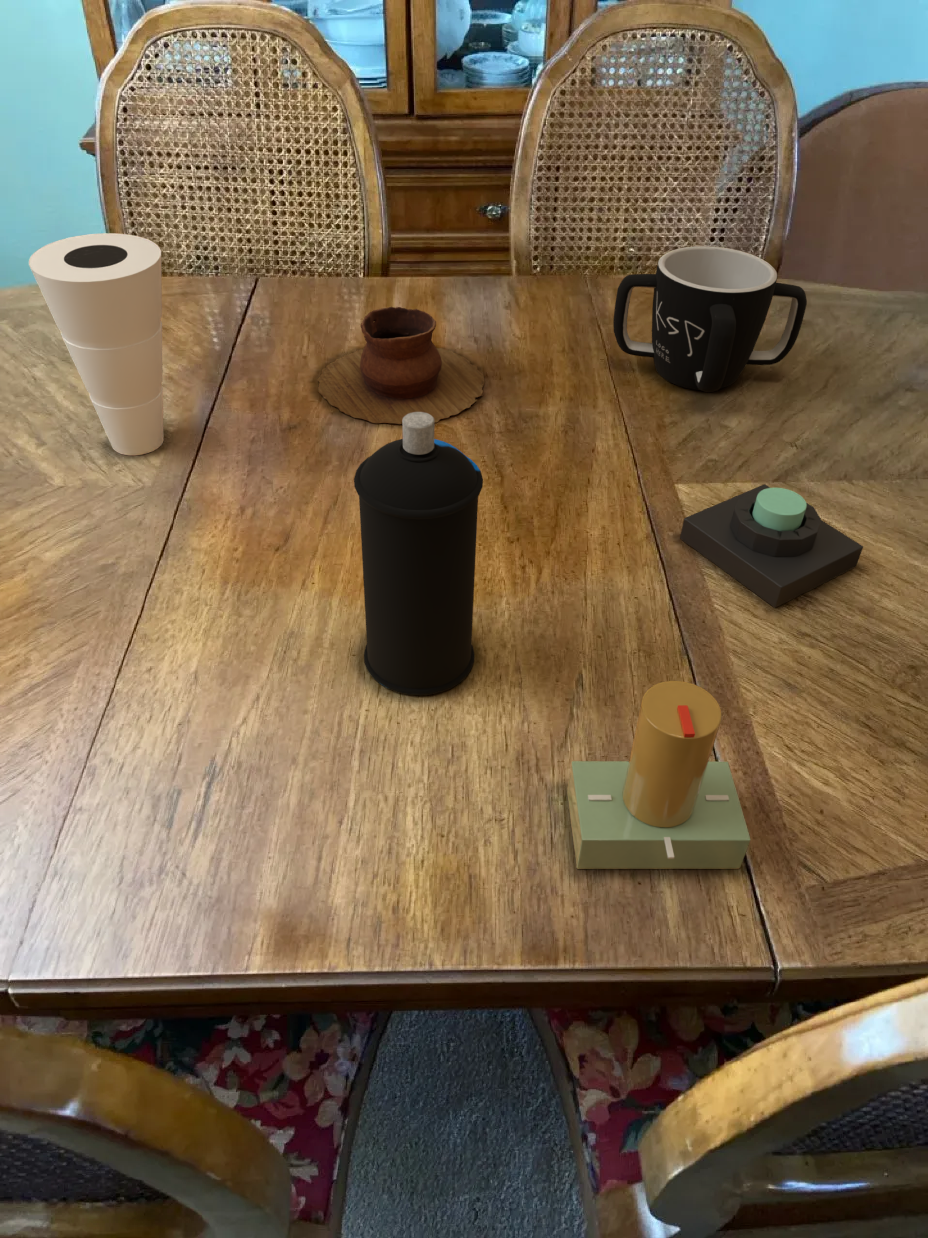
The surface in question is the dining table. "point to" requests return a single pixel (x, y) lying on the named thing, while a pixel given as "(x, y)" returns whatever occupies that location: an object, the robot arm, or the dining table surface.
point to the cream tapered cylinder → (111, 328)
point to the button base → (770, 548)
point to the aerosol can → (418, 559)
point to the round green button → (779, 509)
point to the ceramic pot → (400, 372)
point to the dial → (670, 752)
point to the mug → (708, 315)
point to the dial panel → (632, 844)
